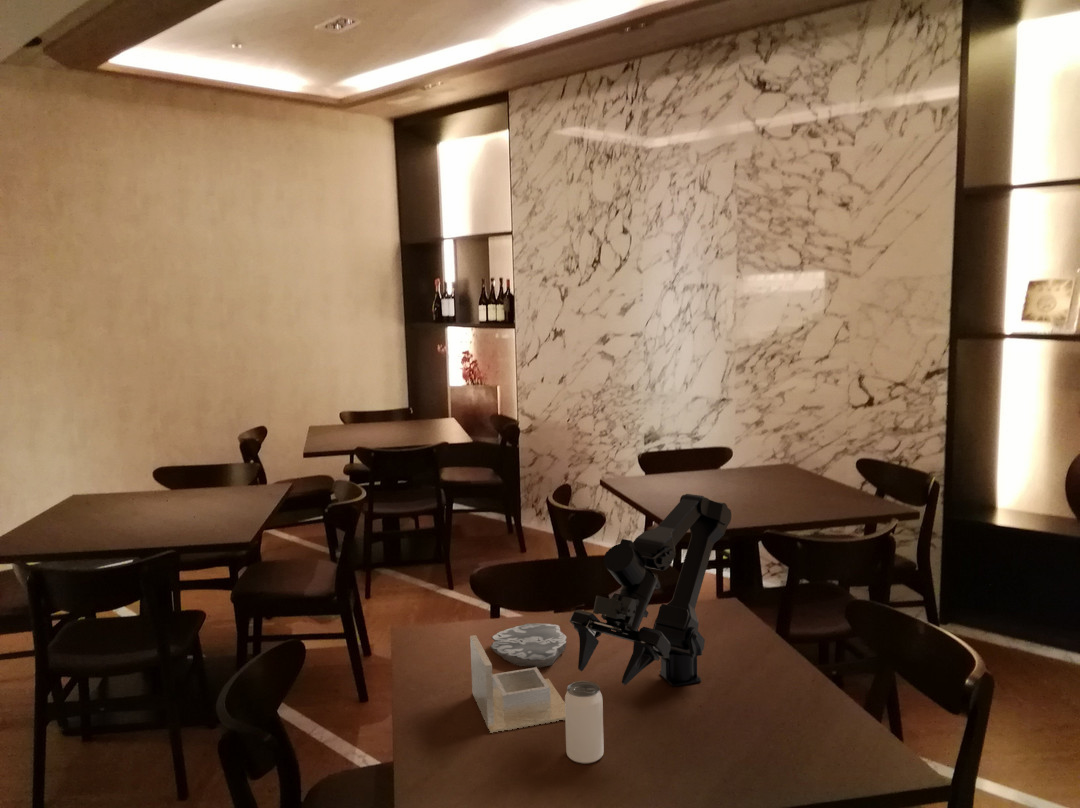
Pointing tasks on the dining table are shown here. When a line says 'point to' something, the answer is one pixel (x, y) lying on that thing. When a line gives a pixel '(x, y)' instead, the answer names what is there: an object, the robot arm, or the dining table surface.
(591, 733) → the can
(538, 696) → the cup bracket
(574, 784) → the dining table surface
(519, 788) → the dining table surface
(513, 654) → the brain slice
